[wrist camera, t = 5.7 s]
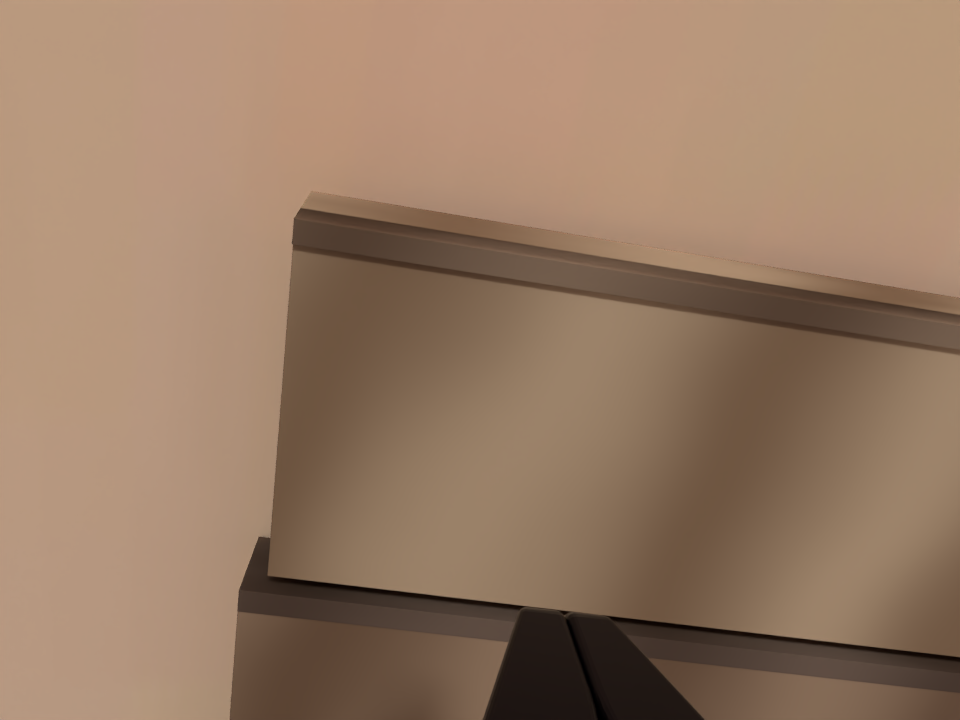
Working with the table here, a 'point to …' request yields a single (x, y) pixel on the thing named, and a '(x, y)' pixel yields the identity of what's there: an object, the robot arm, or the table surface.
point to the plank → (616, 430)
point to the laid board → (483, 641)
